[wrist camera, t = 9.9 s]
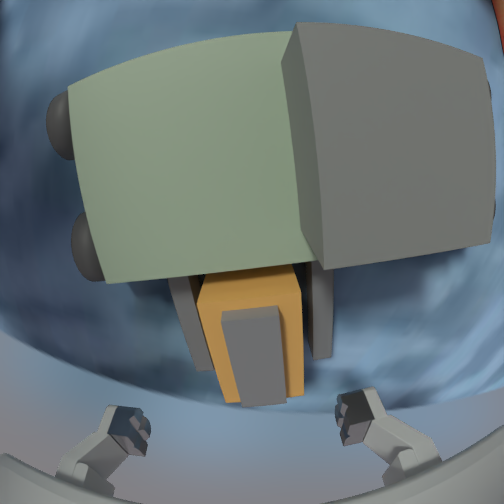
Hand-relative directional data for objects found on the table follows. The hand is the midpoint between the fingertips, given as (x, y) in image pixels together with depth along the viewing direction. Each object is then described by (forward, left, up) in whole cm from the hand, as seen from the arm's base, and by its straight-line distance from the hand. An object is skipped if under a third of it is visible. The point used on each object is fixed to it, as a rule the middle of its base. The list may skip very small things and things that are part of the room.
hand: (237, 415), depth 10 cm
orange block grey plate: (+1, 0, -9) cm, 9 cm away
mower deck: (+4, +6, -8) cm, 11 cm away
